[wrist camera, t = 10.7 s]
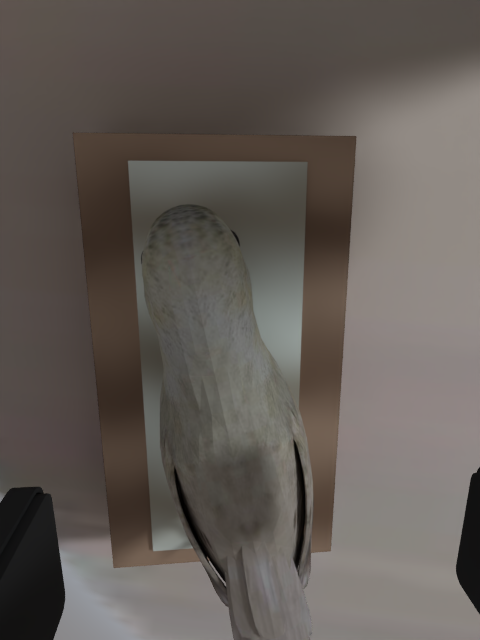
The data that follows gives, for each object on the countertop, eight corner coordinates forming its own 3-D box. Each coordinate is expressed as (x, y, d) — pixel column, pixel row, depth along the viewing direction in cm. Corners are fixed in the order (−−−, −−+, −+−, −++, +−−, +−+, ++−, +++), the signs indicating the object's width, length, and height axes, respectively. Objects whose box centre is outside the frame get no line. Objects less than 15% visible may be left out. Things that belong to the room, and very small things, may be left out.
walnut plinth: (96, 146, 20) (71, 131, 16) (327, 148, 21) (358, 135, 17) (126, 512, 25) (112, 571, 21) (311, 500, 26) (331, 554, 22)
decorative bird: (248, 191, 17) (285, 181, 10) (310, 520, 22) (366, 678, 14) (115, 219, 17) (56, 229, 10) (204, 545, 21) (208, 719, 14)
